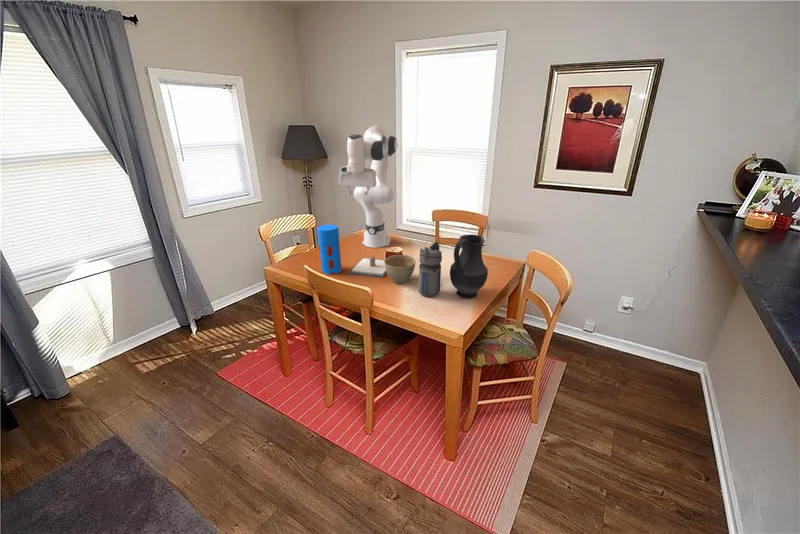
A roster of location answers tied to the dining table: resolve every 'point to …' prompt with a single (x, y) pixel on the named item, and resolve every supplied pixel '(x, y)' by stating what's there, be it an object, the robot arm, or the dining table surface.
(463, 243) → the pitcher
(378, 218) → the robot arm
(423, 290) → the beverage bottle
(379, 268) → the lid
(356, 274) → the mat
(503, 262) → the dining table surface
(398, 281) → the planter bowl
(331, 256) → the blue slotted cylinder
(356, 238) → the dining table surface
